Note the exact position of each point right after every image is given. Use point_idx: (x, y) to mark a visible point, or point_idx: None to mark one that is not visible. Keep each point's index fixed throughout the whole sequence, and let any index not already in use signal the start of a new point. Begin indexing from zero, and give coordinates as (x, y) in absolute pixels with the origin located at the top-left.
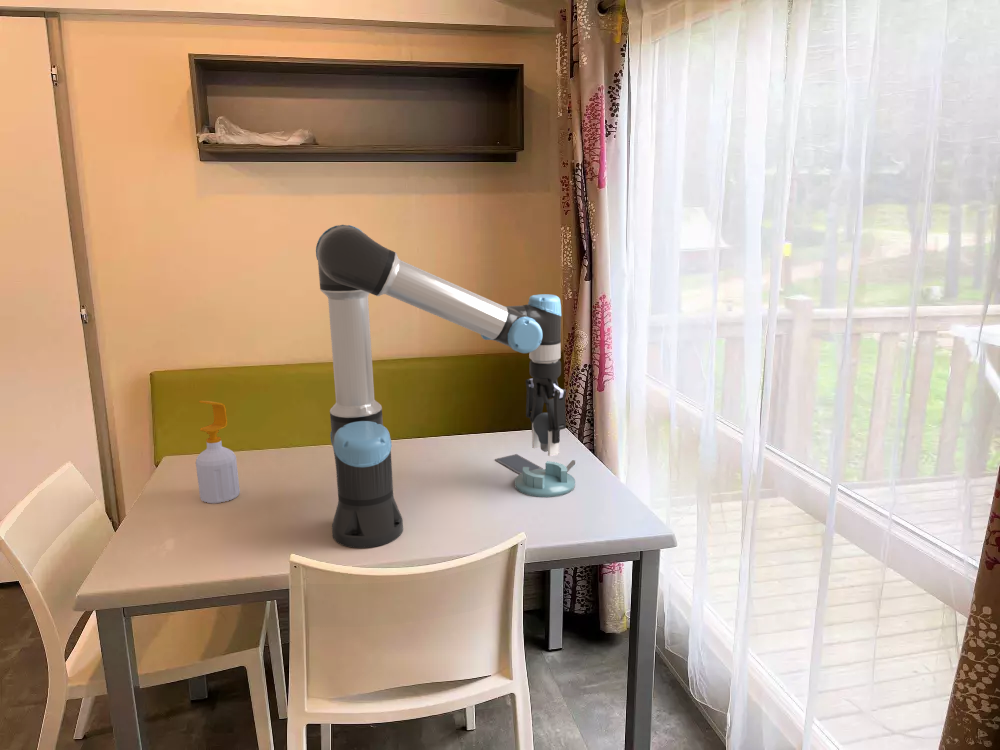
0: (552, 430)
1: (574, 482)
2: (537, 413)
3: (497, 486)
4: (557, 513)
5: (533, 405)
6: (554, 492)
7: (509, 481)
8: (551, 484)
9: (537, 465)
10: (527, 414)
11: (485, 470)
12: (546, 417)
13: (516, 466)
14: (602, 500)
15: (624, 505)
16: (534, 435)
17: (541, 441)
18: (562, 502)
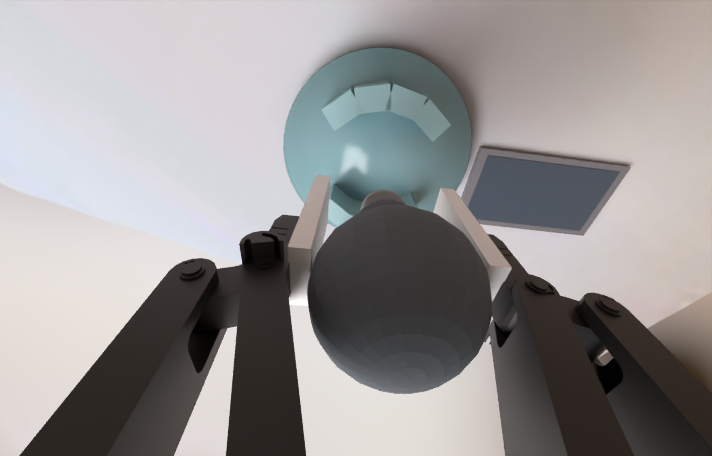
0: (247, 250)
1: None
2: (514, 353)
3: (486, 7)
4: (173, 27)
5: (605, 430)
6: (287, 119)
7: (479, 82)
8: (339, 153)
9: (480, 223)
10: (611, 313)
11: (615, 79)
12: (351, 336)
13: (529, 176)
14: (208, 199)
15: (161, 216)
16: (459, 221)
17: (380, 202)
18: (243, 106)
